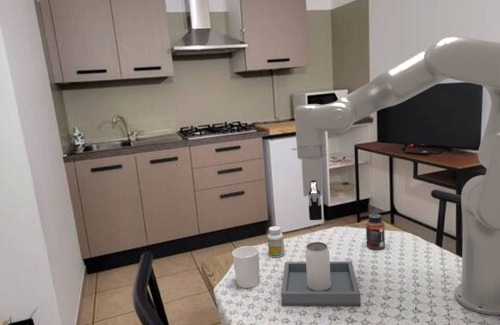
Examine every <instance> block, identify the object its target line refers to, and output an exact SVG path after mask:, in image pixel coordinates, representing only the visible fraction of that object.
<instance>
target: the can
mask: <svg viewBox="0 0 500 325" xmlns="http://www.w3.org/2000/svg"><path fill="white" fill-rule="evenodd" d="M305 262H306V270H307V284H308V287H309V288H310V289H311V290H313V291H326V290H328V289H329V288H330V286H331V279H330V262H331V261H330V250H329V248H328V245H327V244H326V243H325V242H321V241H320V242H319V241H314V242H310V243H308V244H307V245H306V249H305Z"/></svg>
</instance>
